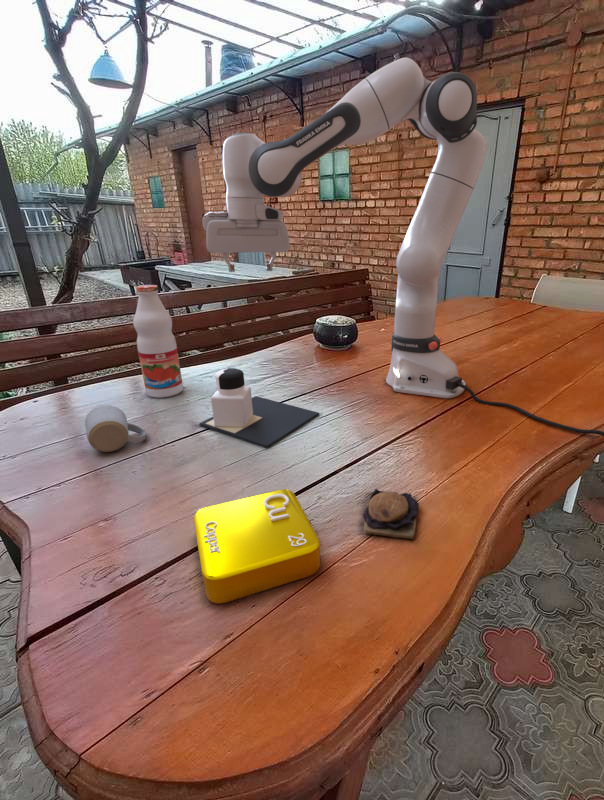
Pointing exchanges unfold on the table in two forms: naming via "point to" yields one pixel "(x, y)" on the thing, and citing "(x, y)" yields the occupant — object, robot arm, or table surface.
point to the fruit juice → (156, 345)
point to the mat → (266, 422)
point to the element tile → (254, 545)
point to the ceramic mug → (110, 429)
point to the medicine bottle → (231, 399)
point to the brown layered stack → (391, 514)
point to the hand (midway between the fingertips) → (250, 271)
